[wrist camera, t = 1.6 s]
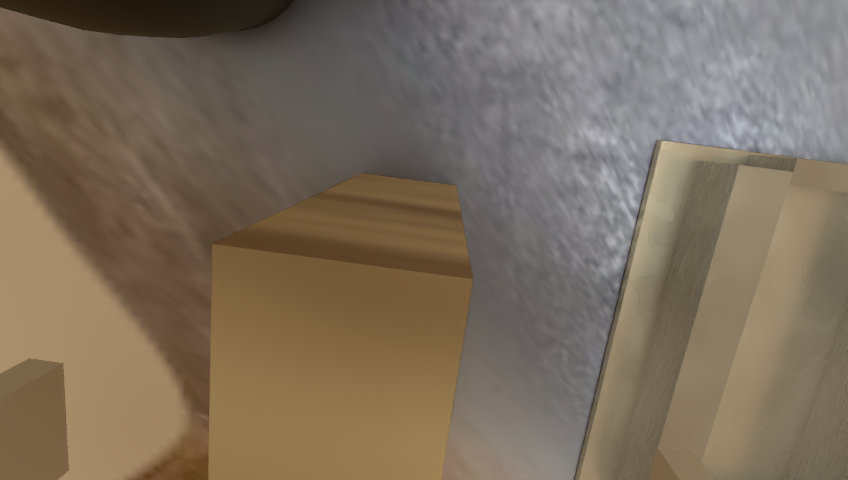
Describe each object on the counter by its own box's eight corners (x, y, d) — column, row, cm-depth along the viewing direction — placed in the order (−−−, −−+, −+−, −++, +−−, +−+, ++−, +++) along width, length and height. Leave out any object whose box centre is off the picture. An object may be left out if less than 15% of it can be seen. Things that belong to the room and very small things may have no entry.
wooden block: (362, 172, 17) (212, 243, 6) (456, 185, 17) (473, 279, 6) (340, 410, 19) (204, 763, 8) (422, 421, 19) (390, 794, 8)
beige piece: (657, 140, 16) (696, 141, 13) (973, 181, 16) (1075, 190, 13) (571, 495, 19) (589, 549, 17) (828, 532, 19) (886, 592, 17)
